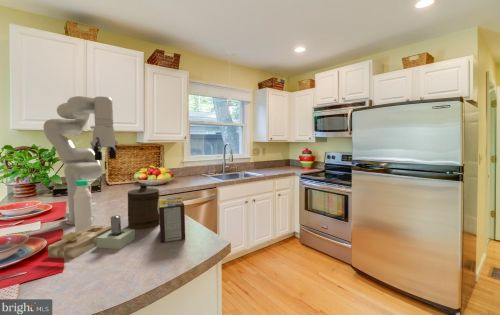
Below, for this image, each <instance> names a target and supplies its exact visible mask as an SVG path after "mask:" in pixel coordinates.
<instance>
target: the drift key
mask: <svg viewBox="0 0 500 315" xmlns="http://www.w3.org/2000/svg"><path fill="white" fill-rule="evenodd" d="M79 236H81V233H76V232H75V231H74V232H73V231H71V232H69V233H67V234H64V235H62V236H61V237H60V239H61V240H62V239H67V243H73V242H75V241H76V238H77V237H79Z"/></svg>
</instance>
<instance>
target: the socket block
mask: <svg viewBox="0 0 500 315" xmlns="http://www.w3.org/2000/svg"><path fill="white" fill-rule="evenodd" d="M110 230H111V225H93V226H91V227H89V228H86V229H84V230H82V231H80V232H78V233H81V236H79V237H77V238H76V241H75V242H73V243H67V239H61V240H58V241H56V242H54V243H52V244H49V245H48V246H47V255H48V258H60V259H75V258H76V257H78V256H80V255H82V254H84V253H85V252H87V251H89V250H91V249H92V248H94V247H95V246H96V247H97V240H96V238H97V237H99V236H101V235H103V234H104V233H106V232H108V231H110Z"/></svg>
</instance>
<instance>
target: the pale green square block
mask: <svg viewBox="0 0 500 315" xmlns="http://www.w3.org/2000/svg"><path fill="white" fill-rule="evenodd" d="M135 239H136V229H130V228H128V229H127V228H126V229H125V228H121V235H119V236H112V235H111V230H110V231H108V232H106V233H104V234H103V235H101V236H99V237H97V238H96V240H97V245H96V248H97V249H113V250H114V249H115V250H117V249H118V250H121V249H123V248H124V247H126V246H127V245H129V244H130V243H131V242H133V241H134V240H135Z"/></svg>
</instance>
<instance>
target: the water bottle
mask: <svg viewBox="0 0 500 315" xmlns="http://www.w3.org/2000/svg"><path fill="white" fill-rule="evenodd" d="M87 186H89V181H88V179H87V180H78V181H76V187H77V190H76V191H75V194H74V196H73V199H74V216H75V225H74V226H75V229H74V232H76V233H78V232H80V231H82V230H84V229H86V228H89V227H91V226H94V223H93V222H94V220H93V218H92V216H93V201H92V193H91V192H90V189H89V190H88V188H87Z"/></svg>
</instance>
